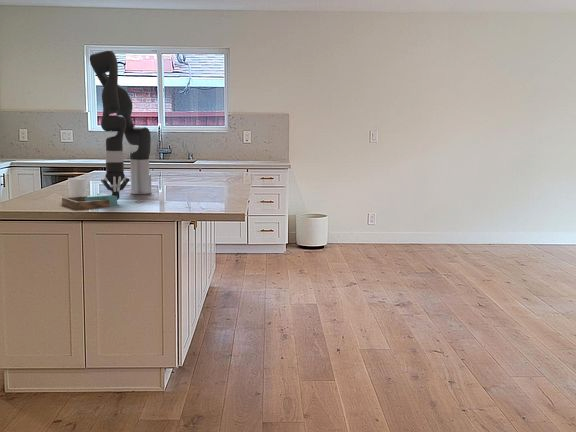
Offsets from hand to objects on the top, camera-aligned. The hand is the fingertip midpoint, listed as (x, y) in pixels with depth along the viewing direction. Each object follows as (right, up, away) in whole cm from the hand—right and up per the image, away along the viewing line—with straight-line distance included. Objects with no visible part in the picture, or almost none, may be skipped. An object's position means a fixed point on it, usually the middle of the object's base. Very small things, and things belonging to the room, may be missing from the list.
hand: (115, 199), depth 274 cm
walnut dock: (-10, -3, -8) cm, 13 cm away
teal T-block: (-6, -2, -4) cm, 8 cm away
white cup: (-20, 0, +9) cm, 22 cm away
